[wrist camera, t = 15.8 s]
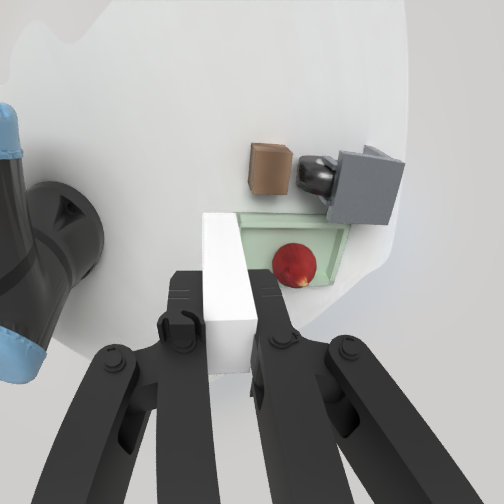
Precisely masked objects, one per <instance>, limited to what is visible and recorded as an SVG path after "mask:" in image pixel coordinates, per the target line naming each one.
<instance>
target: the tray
mask: <svg viewBox="0 0 504 504" xmlns="http://www.w3.org/2000/svg"><path fill="white" fill-rule="evenodd" d="M233 213H236V218H237V222H238V227H239V232H240V237H241V242H242V247H243V251H244V256H245V261H246V266H247V269H269V270H270V271H271V272H272V273H273V269H272V260H273V258H274V255H275V253H276V251H277V250H278V249H279V248H280V247H281V246H283V245H285V244H288V243H298V244H303V245H305V246H306V247H308V248H309V249H310V250H311V251H312V252H313V254H314V256H315V258H316V263H317V270H316V273H315V276H314V278H313V280H312V281H311V282H310V283H309V285H308V286H322V285H333V284H334V281H335V278H336V275H337V272H338V268H339V265H340V262H341V258H342V255H343V251H344V248H345V244H346V241H347V237H348V234H349V230H350V226H351V224H347V223H329V221H328V220H327V219H326V215H321V214H291V213H238V212H233ZM277 281H278V280H277ZM278 284H279V287H287V286H284V285H282V284H281V283H280V282H279V281H278Z"/></svg>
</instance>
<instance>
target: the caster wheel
mask: <svg viewBox="0 0 504 504" xmlns="http://www.w3.org/2000/svg"><path fill="white" fill-rule="evenodd" d="M404 166H405V163H404V162H402V161H400V160H397V159H393V158H391V157H390V156H388V155H386V154H385V153H383V152H381V151H379V150H378V149H376V148H374V147H372V146H367V145H365V147H364V152H363V154H361V153H355V152H347V151H339V156H338V161H337V160H334V159H333V158H331V157H330V156H322V157H320V156H302V157H300V158H299V164H298V171H297V177H296V185H297V186H298V187H299V188H300V189H302V190H304V191H306V192H309V193H312V194H315V195H317V196H318V197H319V199H320V200H321V201H322V202H323V204H324V205H325V206H328V211H327V215H326V219H327V220H328V221H329V223H347V224H373V225H388V223H389V220H390V216H391V213H392V210H393V206H394V203H395V200H396V196H397V193H398V189H399V185H400V182H401V178H402V174H403V170H404Z"/></svg>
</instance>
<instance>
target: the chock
mask: <svg viewBox="0 0 504 504" xmlns="http://www.w3.org/2000/svg"><path fill="white" fill-rule="evenodd" d="M292 156H293V153H292V152H291V151H290V150H289V149H288V148H287V147H286V146H285V145H279V144H264V143H251V153H250V164H249V176H248V183H249V186H250V189H251V191H252V194H274V195H287V192H288V185H289V178H290V171H291V164H292Z"/></svg>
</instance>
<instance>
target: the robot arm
mask: <svg viewBox="0 0 504 504" xmlns="http://www.w3.org/2000/svg"><path fill="white" fill-rule="evenodd" d="M22 157H23V150H22V149H21V148H20V139H19V129H18V118H17V114H16V112H15V110H14V109H13V108H12V107H11V106H10V105H9V104H6V103H0V380H1V381H5V382H8V383H13V384H25V383H28V382H30V381H32V380H33V379H35V377H36V376H37V374H38V372H39V369H40V367H41V365H42V363H43V361H44V359H45V358H46V355H47V353H46V351H47V348H48V345H49V342H50V339H51V337H52V334H53V331H54V329H55V326H56V324H57V321H58V319H59V316H60V314H61V311H62V309H63V306H64V304H65V302H66V299H67V297H68V295H69V292H70V290H71V289H72V288H73V287H74V286H76V285H77V284H78V283H79V282H80V280H82V279H83V278H85V277H86V276H87V275H88V274H89V273H90V272H91V271H92V270H93V269H94V267H95V265H96V264H97V261H98V259H99V257H100V255H101V252H102V249H103V243H104V234H103V228H102V224H101V221H100V218H99V216H98V214H97V212H96V210H95V209H94V207H93V206H92V204H91V203H90V202H89V201H88V200H87V199H86V198H85V197H84V196H83V195H82V194H81V193H80V192H78V191H77V190H76V189H74V188H72V187H70V186H68V185H66V184H63V183H59V182H51V181H49V182H42V183H38V184H36V185H34V186H32V187H31V188H29V189H28V190H27V191H25V184H24V176H23V168H22ZM202 253H203V271H176V272H175V274H174V275H173V276H172V278H171V279H170V286H169V295H168V304H167V311H166V312H165V313H164V314H163V315H161V316H160V317H159V320H158V322H157V328H158V333H159V338H160V340H159V341H158V342H157V343H156V344H154V345H152V346H150V347H148V348H145V349H141V350H137V351H132V350H131V349H130V348H128V347H126V346H124V345H120V344H112V345H108V346H105V347H104V348H102V349H100V350H99V351H98V352H97V354H96V355H95V356H94V358H93V360H92V362H91V364H90V366H89V368H88V370H87V372H86V374H85V376H84V378H83V380H82V382H81V384H80V386H79V388H78V390H77V392H76V394H75V396H74V398H73V401H72V402H71V405H70V407H69V409H68V411H67V413H66V415H65V418H64V420H63V422H62V424H61V427H60V429H59V431H58V434H57V436H56V438H55V441H54V443H53V446H52V448H51V451H50V453H49V456H48V458H47V460H46V463H45V466H44V468H43V471H42V473H41V476H40V479H39V482H38V485H37V487H36V490H35V494H34V496H33V499H32V502H31V504H123V503H124V500H125V496H126V492H127V489H128V486H129V482H130V478H131V475H132V472H133V468H134V465H135V461H136V458H137V455H138V452H139V448H140V445H141V442H142V439H143V435H144V432H145V429H146V426H147V423H148V420H149V417H150V414H151V411H152V410H153V409H157V421H156V422H157V423H156V475H157V502H158V504H221V503H220V496H219V487H218V479H217V470H216V462H215V453H214V442H213V431H212V420H211V408H210V395H209V380H208V374H229V373H247V372H250V368H251V369H252V375H253V378H252V384H251V390H250V397H254V403H255V409H256V415H257V420H258V427H259V432H260V438H261V444H262V449H263V455H264V460H265V466H266V470H267V476H268V482H269V487H270V492H271V498H272V503H273V504H354V501H353V497H352V494H351V490H350V487H349V484H348V480H347V477H346V474H345V470H344V467H343V463H342V460H341V457H340V454H339V450H338V447H337V445H338V446H339V448H340V449H341V451H342V453H343V454H344V456H345V457H346V459H347V461H348V462H349V464H350V465H351V467H352V469H353V470H354V472H355V474H356V475H357V476H358V478H359V480H360V481H361V483H362V485H363V486H364V488H365V489H366V491H367V492H368V494H369V495H370V497H371V499H372V500H373V502H374V503H375V504H484V503H483V502H482V500H481V499H480V497H479V496H478V494H477V493H476V491H475V490H474V488H473V487H472V486H471V484H470V483H469V481H468V480H467V478H466V477H465V476H464V474H463V473H462V471H461V470H460V468H459V467H458V466H457V464H456V463H455V462H454V460H453V459H452V457H451V456H450V455H449V453H448V452H447V450H446V449H445V448H444V446H443V445H442V444H441V442H440V441H439V439H438V438H437V437H436V435H435V434H434V433H433V432H432V430H431V429H430V427H429V426H428V425H427V423H426V422H425V421H424V419H423V418H422V417H421V415H420V414H419V413H418V412H417V410H416V409H415V407H414V406H413V405H412V403H411V402H410V401H409V399H408V398H407V397H406V395H405V394H404V393H403V392H402V390H401V389H400V388H399V386H398V385H397V384H396V382H395V381H394V380H393V379H392V378H391V376H390V375H389V373H388V372H387V371H386V370H385V368H384V367H383V366H382V365H381V363H380V362H379V361H378V359H377V358H376V357H375V356H374V354H373V353H372V352H371V351H370V349H369V348H368V347H367V346H366V344H365V343H364V342H362V341H361V340H360V339H358V338H356V337H354V336H350V335H341V336H337V337H336V338H334V339H332V341H331V342H330V344H328V343H322V342H316V341H312V340H308V339H306V338H304V337H302V336H301V334H300V333H299V331H297V330H296V329H295V328H293V326H292V324H291V321H290V318H289V315H288V312H287V309H286V305H285V302H284V299H283V296H282V293H281V290H280V288H279V284H278V281H277V278H276V276H275V275H274V274H273V273H272V272H271V271H270V270H269V269H247V266H246V261H245V256H244V251H243V247H242V242H241V237H240V232H239V227H238V222H237V218H236V213H203V228H202ZM336 443H337V444H336Z"/></svg>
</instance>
